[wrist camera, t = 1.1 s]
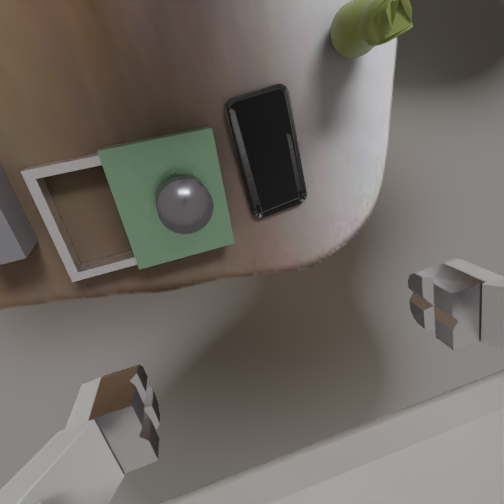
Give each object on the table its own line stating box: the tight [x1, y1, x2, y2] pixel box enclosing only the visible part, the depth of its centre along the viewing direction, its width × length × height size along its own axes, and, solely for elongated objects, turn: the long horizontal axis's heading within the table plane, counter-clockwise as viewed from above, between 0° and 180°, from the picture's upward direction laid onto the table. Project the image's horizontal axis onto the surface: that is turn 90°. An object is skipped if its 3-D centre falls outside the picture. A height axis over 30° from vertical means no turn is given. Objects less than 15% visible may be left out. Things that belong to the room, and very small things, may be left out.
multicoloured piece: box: [20, 126, 235, 282], centre depth 38 cm, size 14×20×6 cm
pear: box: [331, 0, 413, 58], centre depth 35 cm, size 6×5×10 cm
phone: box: [225, 84, 307, 217], centre depth 43 cm, size 8×1×15 cm
